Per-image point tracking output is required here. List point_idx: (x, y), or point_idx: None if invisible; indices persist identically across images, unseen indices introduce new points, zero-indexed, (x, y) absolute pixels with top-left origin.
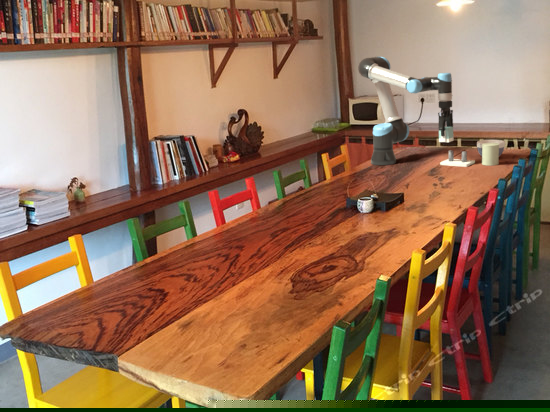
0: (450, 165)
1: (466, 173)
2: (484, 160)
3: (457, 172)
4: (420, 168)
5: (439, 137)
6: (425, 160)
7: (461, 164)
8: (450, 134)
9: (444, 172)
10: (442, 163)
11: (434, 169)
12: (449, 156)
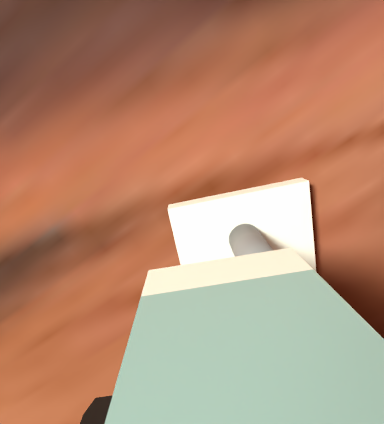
0: None
1: (74, 420)
2: None
3: (64, 383)
4: (4, 167)
5: (141, 315)
6: (251, 3)
7: None
8: None
9: (20, 339)
10: (172, 222)
11: (42, 255)
12: (234, 251)
